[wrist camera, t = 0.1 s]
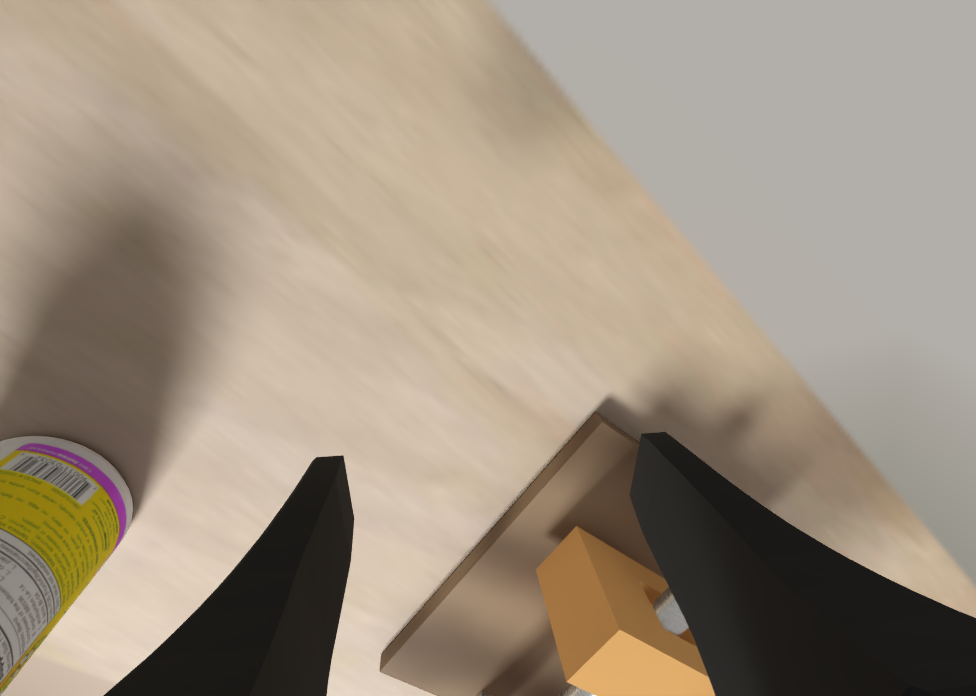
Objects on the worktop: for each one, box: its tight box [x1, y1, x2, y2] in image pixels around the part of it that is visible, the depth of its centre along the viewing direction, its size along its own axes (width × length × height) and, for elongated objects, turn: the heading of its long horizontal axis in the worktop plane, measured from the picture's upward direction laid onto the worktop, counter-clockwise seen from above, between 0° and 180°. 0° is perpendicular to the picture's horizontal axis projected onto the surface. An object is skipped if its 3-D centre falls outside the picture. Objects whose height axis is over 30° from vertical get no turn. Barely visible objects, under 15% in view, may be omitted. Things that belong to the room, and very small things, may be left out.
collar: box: [536, 526, 715, 696], centre depth 23 cm, size 3×9×6 cm, turn 52°
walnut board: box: [380, 412, 665, 696], centre depth 27 cm, size 18×13×1 cm
